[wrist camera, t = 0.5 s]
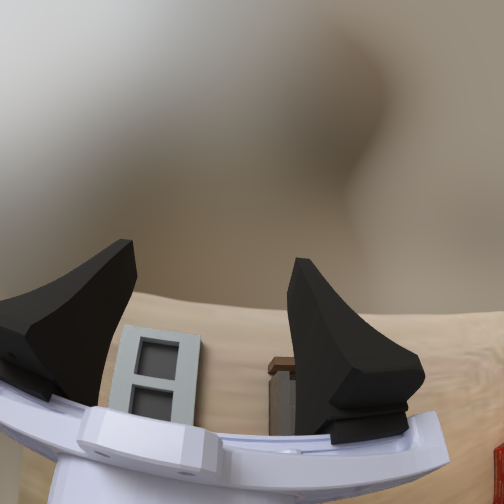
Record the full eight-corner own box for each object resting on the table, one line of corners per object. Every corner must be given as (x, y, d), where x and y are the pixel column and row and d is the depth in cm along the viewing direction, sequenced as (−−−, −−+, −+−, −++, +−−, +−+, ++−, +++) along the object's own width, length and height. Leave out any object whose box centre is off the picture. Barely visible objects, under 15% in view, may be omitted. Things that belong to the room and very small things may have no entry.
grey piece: (364, 448, 22) (386, 445, 19) (268, 458, 21) (279, 459, 18) (358, 379, 28) (378, 367, 24) (268, 381, 26) (279, 369, 23)
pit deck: (190, 492, 18) (189, 494, 17) (105, 475, 17) (100, 476, 16) (200, 340, 28) (200, 335, 27) (127, 330, 28) (124, 324, 26)
